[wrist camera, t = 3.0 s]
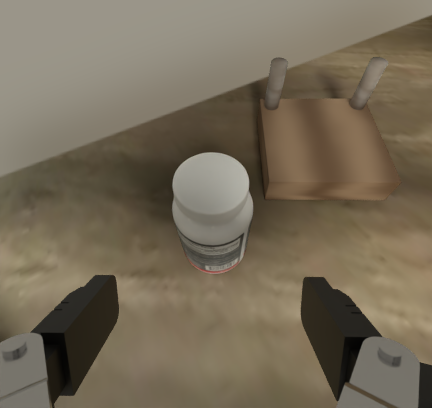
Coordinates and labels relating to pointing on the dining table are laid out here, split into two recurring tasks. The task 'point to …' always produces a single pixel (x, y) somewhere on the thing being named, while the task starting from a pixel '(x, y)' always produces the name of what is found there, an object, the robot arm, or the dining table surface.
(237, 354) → the dining table surface
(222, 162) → the pill bottle
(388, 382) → the robot arm
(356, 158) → the stand
